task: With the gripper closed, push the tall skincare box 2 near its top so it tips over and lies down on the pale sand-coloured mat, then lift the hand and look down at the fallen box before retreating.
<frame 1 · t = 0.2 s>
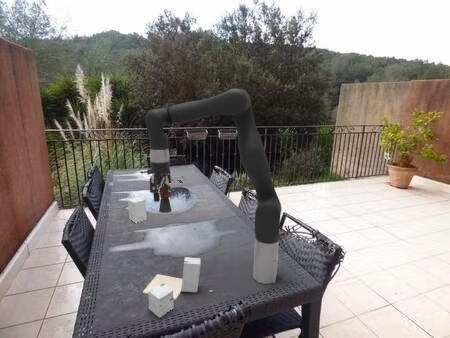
hand: (161, 197, 118), 29 cm above the table, tool pointing down, fingers open, 8 cm apart
skincare box 2: (188, 289, 107), on the table, touching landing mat
chopping board: (168, 183, 235), on the table
skincare box: (161, 309, 97), on the table
supplement box: (137, 220, 164), on the table
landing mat: (166, 287, 108), on the table
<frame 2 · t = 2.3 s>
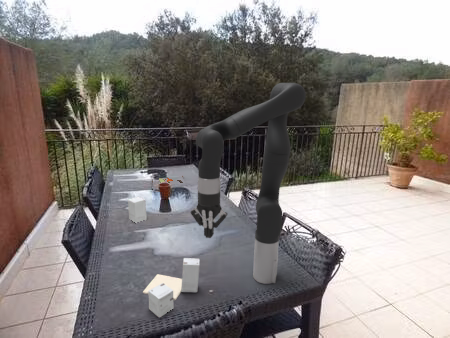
hand: (208, 236, 99), 23 cm above the table, tool pointing down, fingers closed
nothing on the table moved.
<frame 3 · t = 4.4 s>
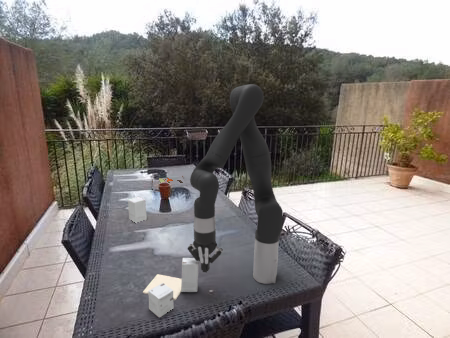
hand: (205, 271, 103), 9 cm above the table, tool pointing down, fingers closed
skincare box 2: (189, 289, 107), on the table, touching gripper, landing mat
everything else where it was.
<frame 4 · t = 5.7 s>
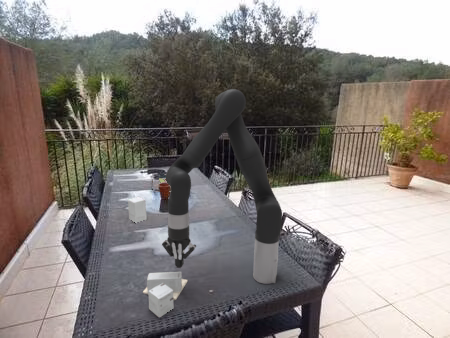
hand: (179, 266, 105), 9 cm above the table, tool pointing down, fingers closed
skincare box 2: (181, 282, 106), point 3 cm above the table, touching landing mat
everything else where it was.
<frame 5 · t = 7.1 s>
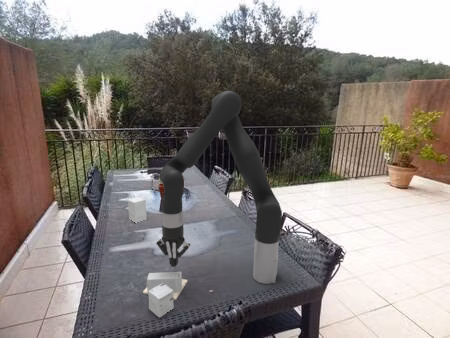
hand: (173, 265, 106), 9 cm above the table, tool pointing down, fingers closed
nothing on the table moved.
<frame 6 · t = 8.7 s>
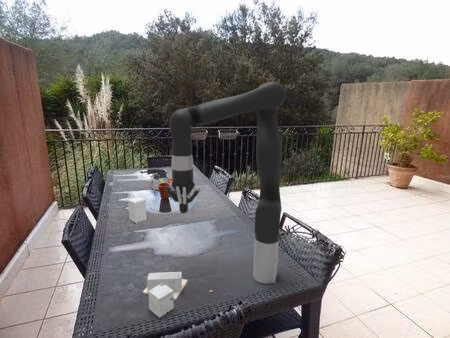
hand: (183, 212, 106), 28 cm above the table, tool pointing down, fingers closed
nothing on the table moved.
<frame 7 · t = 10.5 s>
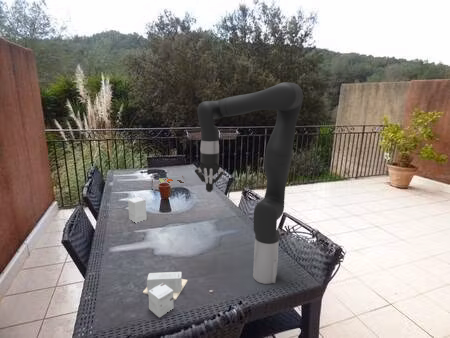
hand: (209, 191, 121), 31 cm above the table, tool pointing down, fingers closed
nothing on the table moved.
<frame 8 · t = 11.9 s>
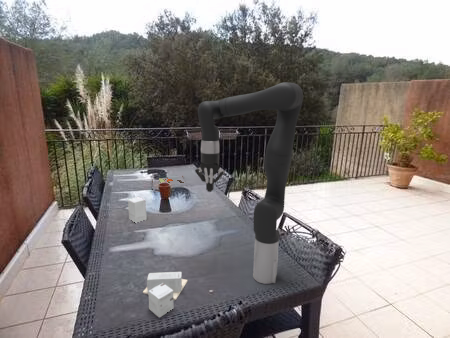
hand: (209, 191, 121), 31 cm above the table, tool pointing down, fingers closed
nothing on the table moved.
at the end: skincare box 2 tilted 89°; skincare box 2 touching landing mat; skincare box 2 inside the target area (4.1 cm from its centre), point 3.4 cm above the table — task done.
